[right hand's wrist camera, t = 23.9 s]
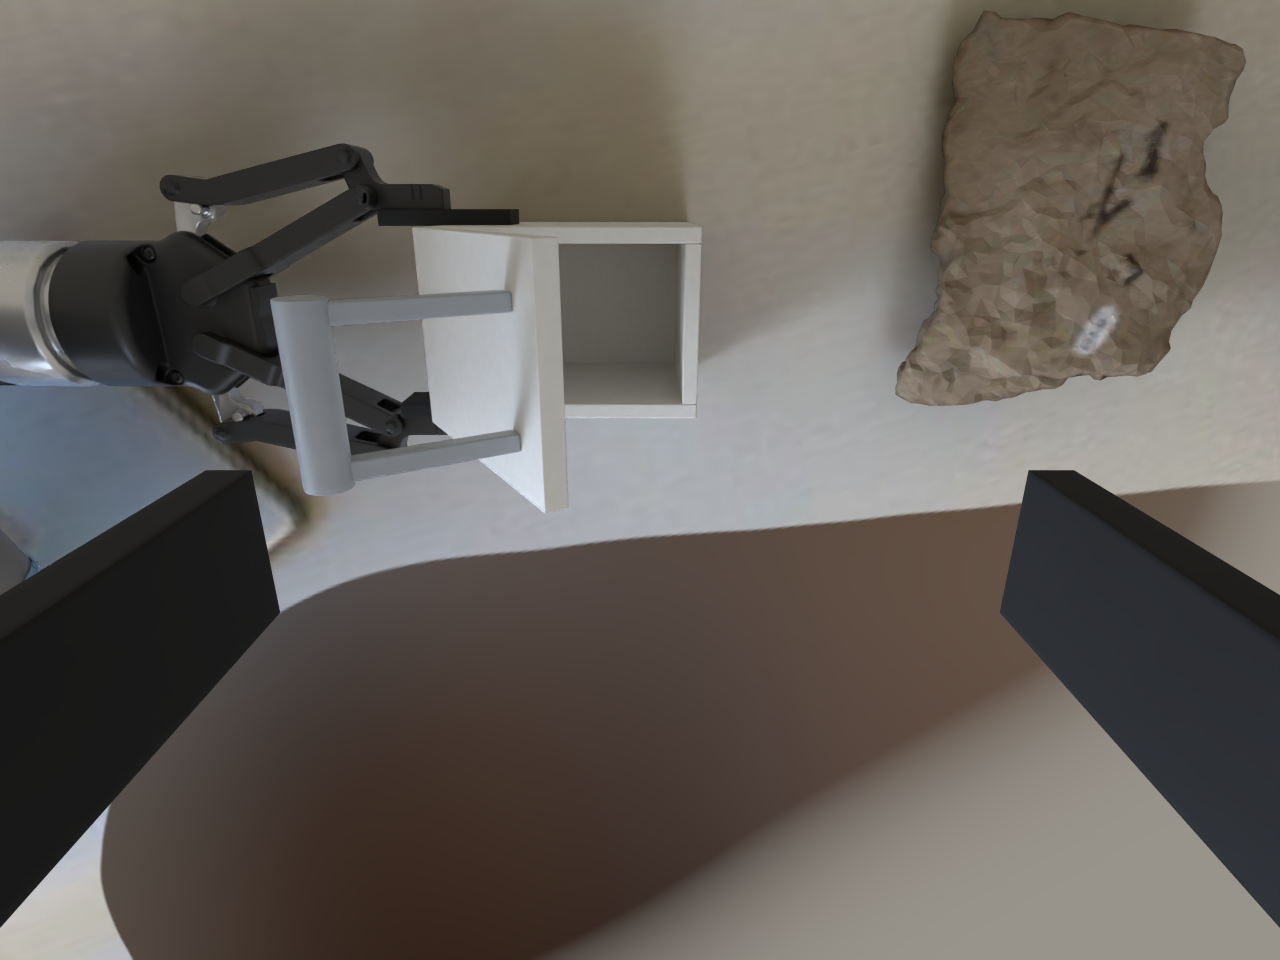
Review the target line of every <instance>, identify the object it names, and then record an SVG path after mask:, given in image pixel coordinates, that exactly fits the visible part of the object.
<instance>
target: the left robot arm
mask: <svg viewBox="0 0 1280 960" xmlns="http://www.w3.org/2000/svg"><path fill="white" fill-rule="evenodd" d="M373 164H374V160H373V156H372V154H371V153H370V152H369V151H368V150H367V149H365V148H362V147H358V146H353V145H348V144H336V145H333V146H329V147H325V148H322V149H318V150H314V151H310V152H307V153H303V154H299V155H296V156H292V157H288V158H284V159H281V160H277V161H273V162H269V163H266V164H262V165H258V166H255V167H251V168H247V169H243V170H240V171H236V172H232V173H228V174H225V175H221V176H217V177H214V178H203V177H191V176H176V175H167V176H165V177H163V178H162V179H161V181H160V190H161V192H162V194H163V195H164V197H166V198H167V199H168V200H170V201H173V202H174V210H175V220H176V230H177V232H174V233H172V234H170V235H169V236H168V237H166V238H164V239H162V240H160V241H84V242H80V243H78V242H75V241H0V385H15V386H20V385H22V386H98V385H103V384H104V385H108V386H187V387H192V388H195V389H197V390H200V391H201V392H204V393H206V394H209V395H211V396H212V399H213V402H214V405H215V408H216V411H217V414H218V417H219V420H220V423H218V424H217V425H215V426H214V428H213V436H214V437H215V439H216V440H217V441H218V442H220V443H222V444H233V443H242V442H251V441H260V442H265V443H269V444H274V445H278V446H283V447H288V448H292V449H296V444H295V439H294V433H293V427H292V422H291V416H290V411H286V410H280V409H264V406H263V404H262V403H261V402H258V401H255V400H252V399H246V398H244V397H243V396H241V395H240V393H239V392H238V390H237V388H238V387H239V386H241V385H242V384H243V383H244V382H245V381H247V380H248V379H249V378H250V377H251V378H253V379H255V380H257V381H259V382H262V383H264V384H267V385H271V386H279V387H282V388H284V389H286V388H285V382H284V377H283V371H282V365H281V360H280V354H279V349H278V343H277V337H276V332H275V326H274V320H273V315H272V309H271V304H270V299H272V298H275V297H278V296H277V291H276V285H275V283H271V282H270V280H269V278H271V277H272V276H274V275H276V274H278V273H279V272H281V271H283V270H284V269H286V268H288V267H289V265H290V264H292V263H293V262H295V261H297V260H299V259H300V258H302V257H304V256H305V255H307V254H309V253H311V252H312V251H314V250H316V249H318V248H319V247H321V246H323V245H324V244H326V243H328V242H330V241H331V240H333V239H335V238H336V237H338V236H340V235H342V234H343V233H345V232H347V231H349V230H350V229H352V228H354V227H355V226H357V225H359V224H361V223H362V222H364V221H366V220H367V219H369V218H371V217H373V216H374V215H376V214H377V216H378V224H379V226H439V225H516V224H519V209H451V203H450V191H449V189H447V188H445V187H443V186H440V185H434V184H387V183H385V182H384V181H382V180H381V178H380V177H379V176H378V174H377V172H376V169H375V167H374V165H373ZM340 179H345V181H346V183H347V185H348V187H349V190H347V191H345V192H343V193H342V194H340V195H338V196H337V197H335V198H333V199H332V200H330V201H328V202H327V203H325V204H323V205H321V206H320V207H318V208H316V209H315V210H313V211H311V212H310V213H308V214H306V215H305V216H303V217H301V218H300V219H298V220H296V221H294V222H293V223H291V224H289V225H288V226H286V227H284V228H283V229H281V230H279V231H278V232H276V233H274V234H273V235H271V236H269V237H267V238H266V239H264V240H262V241H261V242H259V243H257V244H256V245H254V246H252V247H249V248H246V249H244V250H242V251H240V252H238V253H236V252H234V251H233V250H231V249H230V248H228V247H227V246H225V245H224V244H222V243H221V242H219V241H218V240H216V239H215V238H213V237H212V236H210V235H209V234H207V233H206V229H207V226H208V225H209V223H211V222H213V221H218V220H221V219H222V218H223V217H224V215H225V213H226V211H227V208H226V206H225V205H244V204H249V203H253V202H257V201H261V200H265V199H268V198H272V197H276V196H280V195H284V194H287V193H291V192H295V191H299V190H303V189H306V188H310V187H314V186H318V185H321V184H325V183H329V182H333V181H337V180H340ZM339 379H340V386H341V392H342V399H343V406H344V412H345V417H347V418H349V419H351V420H354V421H356V422H358V423H360V424H362V425H365V426H367V427H369V428H371V429H368V428H364V427H359V426H355V425H350V424H346V426H347V432H348V439H349V446H350V452H351V455H357V454H364V453H370V452H376V451H382V450H388V449H395V448H401V447H407V439H408V436H409V435H448V434H447V433H446V432H444V431H443V430H442V429H441V428H439V427H438V426H437V425H436V424H434V423H433V422H432V413H431V403H430V394H429V392H414V393H413V394H412V395H411V396H409V397H408V398H407V399H406V400H405V401H403V402H402V403H401V402H399V401H397V400H395V399H393V398H391V397H389V396H386V395H384V394H382V393H380V392H378V391H376V390H374V389H372V388H369V387H367V386H365V385H363V384H361V383H359V382H357V381H354V380H352V379H350V378H348V377H346V376H344V375H342V374H340V373H339ZM39 571H41V569H40V568H39V565H38V562H36V561H35V560H34V559H33V557H26V556H25V555H24V554H23V553H22V551H21V550H20V549H19V548H18V547H17V546H16V545H15V544H14V543H13V542H12V541H11V540H10V539H9V538H8V537H7V536H6V535H5V534H4V533H3V532H2V531H1V530H0V595H1V594H3V593H5V592H6V591H8V590H9V589H11V588H13V587H14V586H16V585H18V584H19V583H21V582H23V581H24V580H26V579H28V578H29V577H31V576H33V575H34V574H36V573H37V572H39Z"/></svg>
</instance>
